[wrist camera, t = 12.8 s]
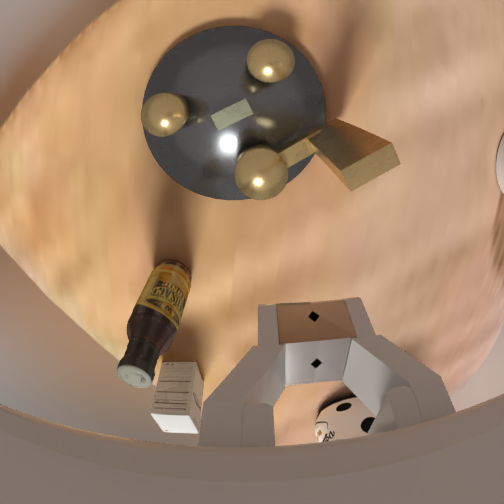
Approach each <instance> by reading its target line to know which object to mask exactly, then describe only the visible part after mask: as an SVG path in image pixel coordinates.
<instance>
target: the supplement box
mask: <svg viewBox="0 0 504 504" xmlns="http://www.w3.org/2000/svg"><path fill="white" fill-rule="evenodd" d="M203 387H204V382H203V380H202V377H201V375H200V372H199V369H198V366H197V363H196V362H162V365H161V369H160V374H159V378H158V382H157V386H156V390H155V395H154V399H153V404H152V408H151V415H152V417H153V418H154V419H155V421H156V422H157V424H158V425H159V426H160V428H161V429H162V431H164V432H175V433H198V432H199V423H200V414H201V405H202V396H203Z"/></svg>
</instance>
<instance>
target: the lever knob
mask: <svg viewBox="0 0 504 504" xmlns="http://www.w3.org/2000/svg"><path fill="white" fill-rule="evenodd" d="M313 153H316V154H317V155H318V156H319V157H320V158H321V159H322V160H323V162H324V163H325V164H326V165H327V166H328V167H329V168H330V169H331V170H332V171H333V172H334V173H335V174H336V176H337V177H338V178H339V179H340V180H341V181H342V182H343V183H344V184H345V185H346V187H347V188H348V189H349V190H350V191H353V190H354V189H356V188H358V187H360V186H362V185H363V184H365V183H367V182H369V181H371V180H372V179H374V178H376V177H378V176H380V175H381V174H383V173H385V172H387V171H389V170H391V169H392V168H394V167H396V166H398V165H400V164H401V163H400V161H399V158H398V156H397V154H396V151H395V149H394V147H393V144H392V143H391V142H389V141H387V140H385V139H383V138H381V137H378V136H376V135H374V134H372V133H370V132H367V131H365V130H363V129H361V128H358V127H356V126H354V125H351V124H349V123H346V122H344V121H342V120H339V119H337V118H334V119H332V120H330V121H328V122H326V123H324V124H322V125H321V126H319V127H315V128H313V129H312V130H310V131H308V132H306V133H304V134H303V135H301V136H299V137H297V138H296V139H294V140H292V141H290V142H289V143H287V144H285V145H283V146H282V147H280V148H278V149H274V148H273V147H271V146H268V145H263V144H258V145H253V146H250V147H248V148H246V149H245V150H244V151H243V152H242V153H241V154H240V155H239V157H238V159H237V162H236V167H235V182H236V184H237V186H238V188H239V190H240V191H241V192H242V193H243V194H245V195H246V196H248V197H250V198H252V199H256V200H266V199H270V198H273V197H275V196H276V195H278V194H279V193H280V192H281V191H282V190H283V189H284V187H285V185H286V183H287V180H288V169H287V168H289V167H290V166H292V165H294V164H295V163H297V162H299V161H301V160H303V159H304V158H306V157H308V156H310V155H311V154H313Z"/></svg>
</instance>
